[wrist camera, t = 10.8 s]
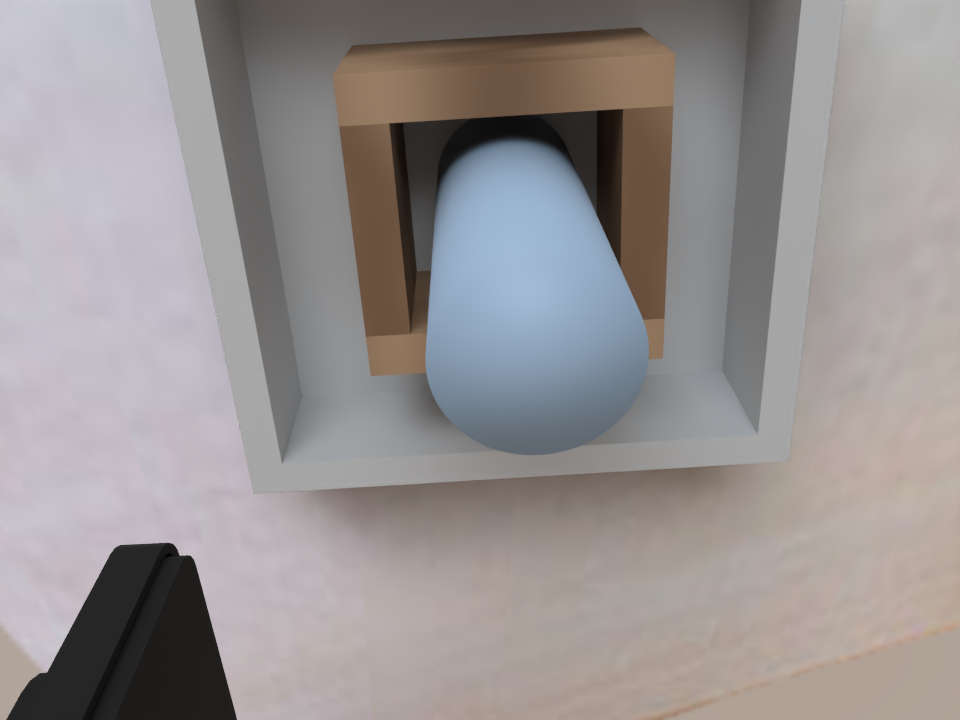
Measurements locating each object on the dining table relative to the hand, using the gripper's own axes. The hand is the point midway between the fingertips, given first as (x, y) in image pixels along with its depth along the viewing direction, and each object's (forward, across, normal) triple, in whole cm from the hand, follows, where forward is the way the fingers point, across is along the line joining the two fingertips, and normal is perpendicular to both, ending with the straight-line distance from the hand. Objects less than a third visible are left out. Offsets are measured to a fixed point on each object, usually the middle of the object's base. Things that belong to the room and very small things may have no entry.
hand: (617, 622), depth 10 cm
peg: (+19, +1, +1) cm, 19 cm away
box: (+20, +1, +1) cm, 20 cm away
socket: (+20, +1, +1) cm, 20 cm away
